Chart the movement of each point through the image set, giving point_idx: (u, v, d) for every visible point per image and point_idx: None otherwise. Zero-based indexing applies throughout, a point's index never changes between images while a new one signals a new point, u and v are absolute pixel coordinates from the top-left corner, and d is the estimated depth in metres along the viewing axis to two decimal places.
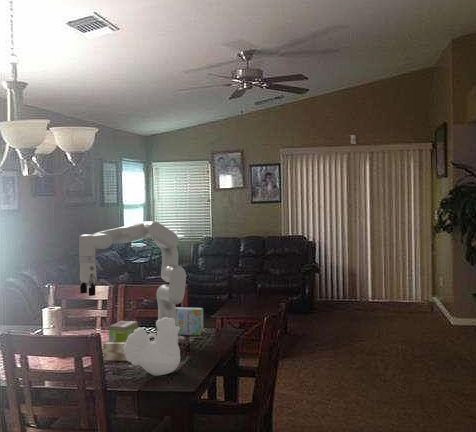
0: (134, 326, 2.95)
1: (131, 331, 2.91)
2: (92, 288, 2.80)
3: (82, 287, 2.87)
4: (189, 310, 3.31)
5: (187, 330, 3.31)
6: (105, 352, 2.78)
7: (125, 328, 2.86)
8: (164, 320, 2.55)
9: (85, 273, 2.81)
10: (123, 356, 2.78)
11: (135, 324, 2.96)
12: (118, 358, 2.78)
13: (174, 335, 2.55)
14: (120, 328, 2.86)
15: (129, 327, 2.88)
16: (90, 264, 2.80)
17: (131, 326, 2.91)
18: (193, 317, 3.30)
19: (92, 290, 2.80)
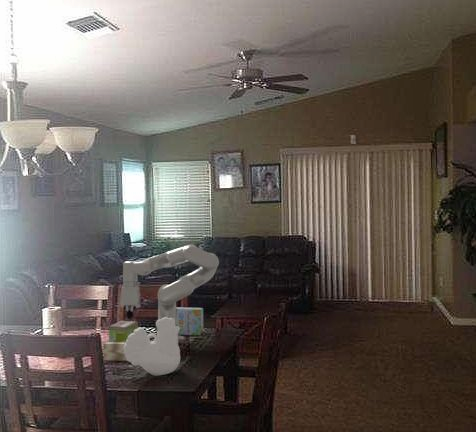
0: (134, 326, 2.95)
1: (131, 331, 2.91)
2: (132, 311, 3.09)
3: (129, 313, 3.09)
4: (189, 310, 3.31)
5: (187, 330, 3.31)
6: (105, 352, 2.78)
7: (125, 328, 2.86)
8: (164, 320, 2.55)
9: (134, 296, 3.07)
10: (123, 356, 2.78)
11: (135, 324, 2.96)
12: (118, 358, 2.78)
13: (174, 335, 2.55)
14: (120, 328, 2.86)
15: (129, 327, 2.88)
16: (138, 288, 3.08)
17: (131, 326, 2.91)
18: (193, 317, 3.30)
19: (132, 313, 3.09)
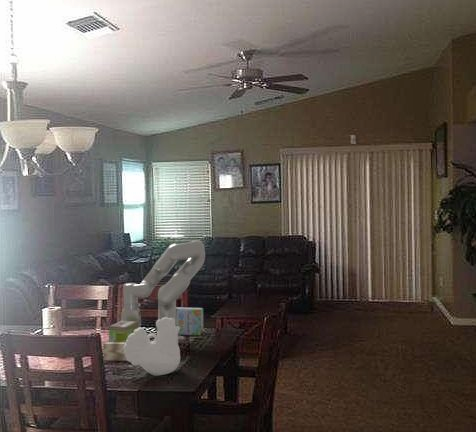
0: (134, 326, 2.95)
1: (131, 331, 2.91)
2: None
3: None
4: (189, 310, 3.31)
5: (187, 330, 3.31)
6: (105, 352, 2.78)
7: (125, 328, 2.86)
8: (164, 320, 2.55)
9: (135, 319, 3.07)
10: (123, 356, 2.78)
11: (135, 324, 2.96)
12: (118, 358, 2.78)
13: (174, 335, 2.55)
14: (120, 328, 2.86)
15: (129, 327, 2.88)
16: (138, 310, 3.08)
17: (131, 326, 2.91)
18: (193, 317, 3.30)
19: None
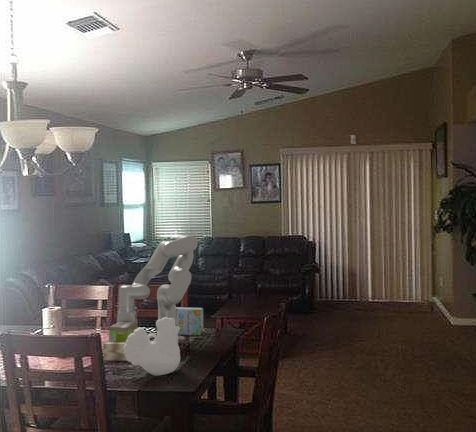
0: (134, 326, 2.93)
1: (131, 331, 2.90)
2: None
3: None
4: (189, 310, 3.31)
5: (187, 330, 3.31)
6: (105, 352, 2.78)
7: (125, 329, 2.84)
8: (164, 320, 2.55)
9: None
10: (123, 356, 2.78)
11: (135, 324, 2.95)
12: (118, 358, 2.78)
13: (174, 335, 2.55)
14: (120, 329, 2.84)
15: (129, 328, 2.87)
16: (135, 313, 3.00)
17: (131, 327, 2.89)
18: (193, 317, 3.30)
19: None
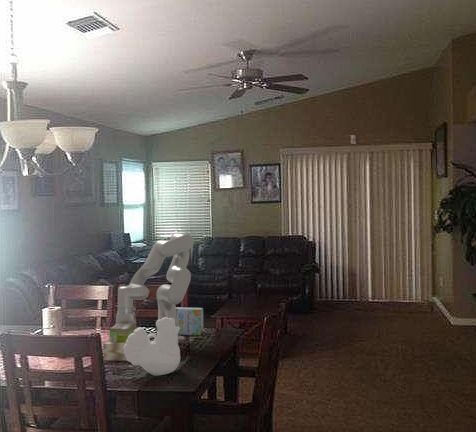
0: (133, 328, 2.91)
1: (132, 332, 2.87)
2: None
3: None
4: (189, 310, 3.31)
5: (187, 330, 3.31)
6: (105, 352, 2.78)
7: (127, 330, 2.81)
8: (164, 320, 2.55)
9: None
10: (123, 356, 2.78)
11: (134, 326, 2.92)
12: (118, 358, 2.78)
13: (174, 335, 2.55)
14: (121, 330, 2.82)
15: (130, 329, 2.84)
16: (133, 314, 2.97)
17: (131, 328, 2.87)
18: (193, 317, 3.30)
19: None
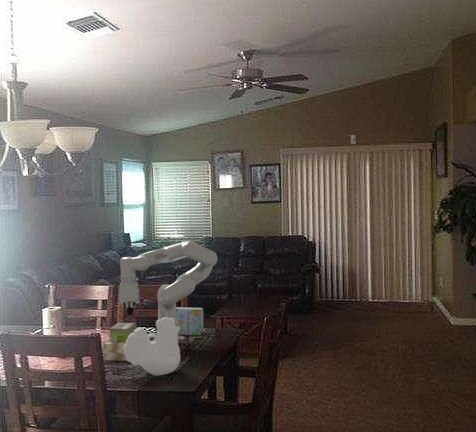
0: (133, 328, 2.91)
1: (132, 332, 2.87)
2: (132, 308, 3.06)
3: (129, 309, 3.06)
4: (189, 310, 3.31)
5: (187, 330, 3.31)
6: (105, 352, 2.78)
7: (127, 330, 2.81)
8: (164, 320, 2.55)
9: (133, 292, 3.04)
10: (123, 356, 2.78)
11: (134, 326, 2.92)
12: (118, 358, 2.78)
13: (174, 335, 2.55)
14: (121, 330, 2.82)
15: (130, 329, 2.84)
16: (136, 283, 3.06)
17: (131, 328, 2.87)
18: (193, 317, 3.30)
19: (132, 309, 3.06)
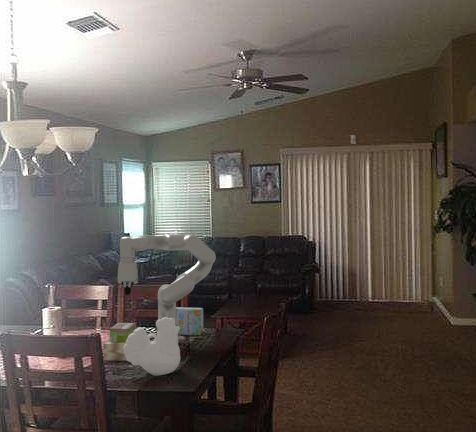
0: (133, 328, 2.91)
1: (132, 332, 2.87)
2: (130, 287, 3.07)
3: None
4: (189, 310, 3.31)
5: (187, 330, 3.31)
6: (105, 352, 2.78)
7: (127, 330, 2.81)
8: (164, 320, 2.55)
9: (131, 272, 3.04)
10: (123, 356, 2.78)
11: (134, 326, 2.92)
12: (118, 358, 2.78)
13: (174, 335, 2.55)
14: (121, 330, 2.82)
15: (130, 329, 2.84)
16: (135, 263, 3.06)
17: (131, 328, 2.87)
18: (193, 317, 3.30)
19: (130, 289, 3.07)
